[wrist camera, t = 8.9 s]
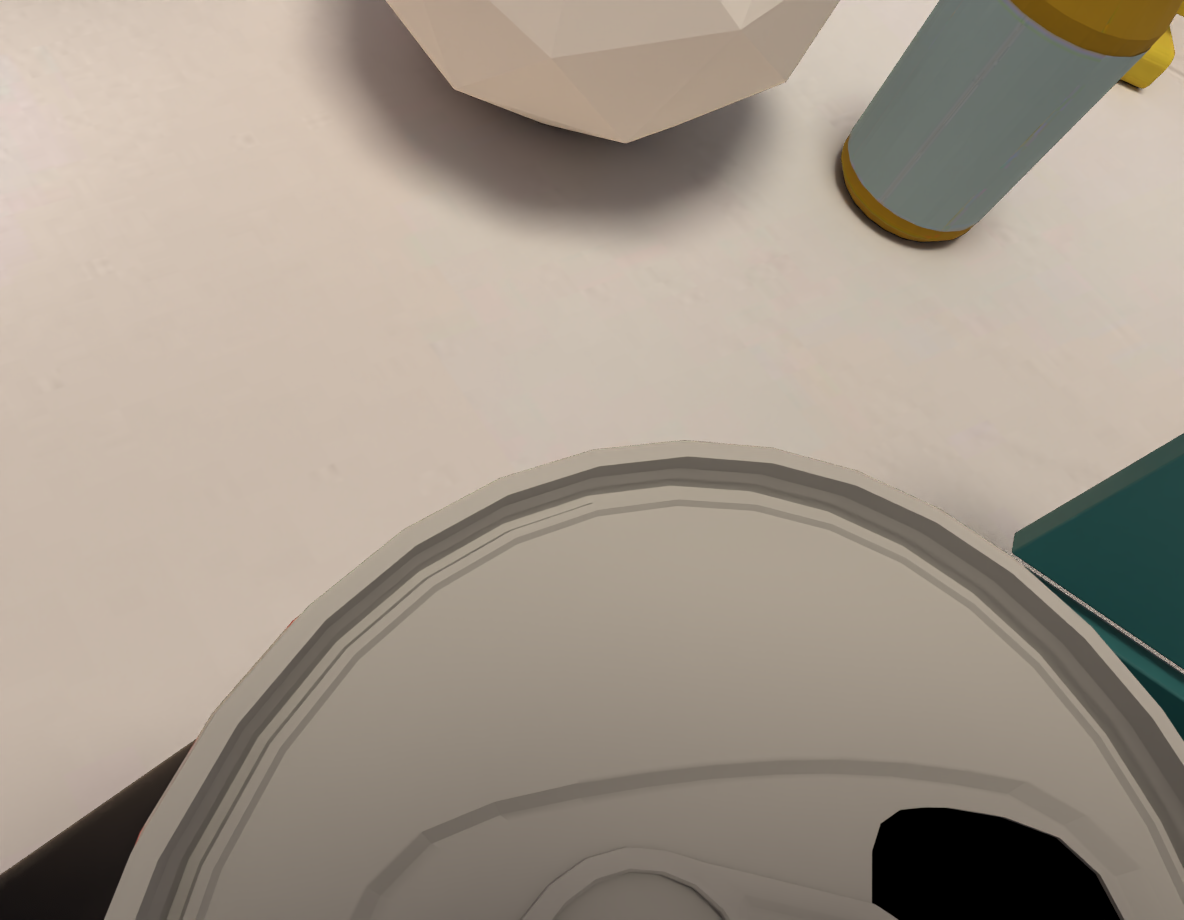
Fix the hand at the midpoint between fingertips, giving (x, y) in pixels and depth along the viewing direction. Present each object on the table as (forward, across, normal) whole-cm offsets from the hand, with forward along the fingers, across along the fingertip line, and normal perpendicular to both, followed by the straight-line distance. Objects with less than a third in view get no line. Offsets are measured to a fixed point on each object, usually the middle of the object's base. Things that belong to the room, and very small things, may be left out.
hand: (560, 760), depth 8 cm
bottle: (+29, -16, -10) cm, 34 cm away
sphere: (+30, +1, -11) cm, 32 cm away
